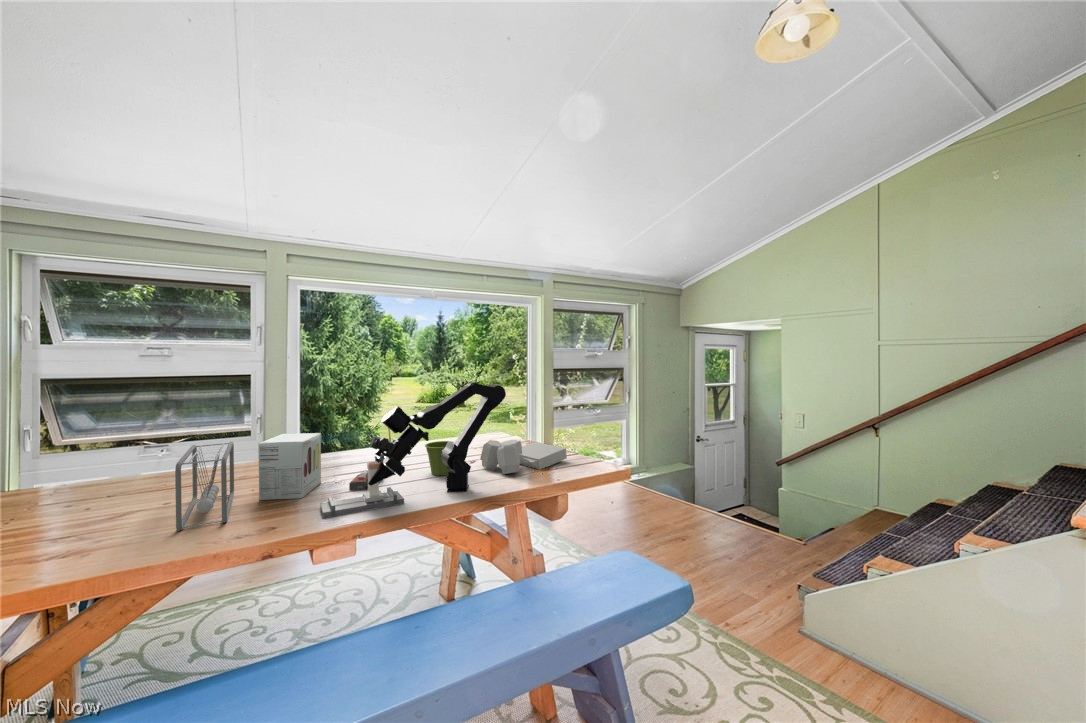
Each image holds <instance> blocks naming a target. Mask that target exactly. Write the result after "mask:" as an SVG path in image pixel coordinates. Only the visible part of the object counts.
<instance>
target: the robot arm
mask: <svg viewBox="0 0 1086 723" xmlns="http://www.w3.org/2000/svg"><path fill="white" fill-rule="evenodd" d="M474 395H478V396H480V400H479V404H478V406H477V407H476V409H475V411H474V412H473V414H472V415H471V416H470V418H469V420H468V422H467V423H466V424H465V426H464V427H463V429H462V431H461V432H460V434H459V436H458V437H457V438H456V440H453V441H452V442H453V443H452V442H450V441H451V440H450V441H449V440H447V441H448V443H447V445H446V447H445V448H444V449H443V450H442V452H443V453H442V455H441V459H442V462H443V463H444V464H445V465H446V466H447V469H449V472H448V474H447V475H446V478H445V479H446V480H445V481H446V484H445V485H446V493H449V492H450V493H455V492H456V493H458V492H459V493H463V492H464V493H465V492H468V489H469V487H470V484H469V473H470V471H471V469H472V466H471V465H470V464H469V463H468V462H466V458H467V455H468V452H469V448H470V447H469V446H470V445H471V443H472V442H473V440H474V439H475V436H476V435H477V434H478V432H479V431H480V429H481V427H482V426H483V425H484V423H485V421H486V419H487V418H488V416H490V413H491V412H492V411H493V410H494V409H496V408H497V407H498V406H499V405H500V404H501V403H502V402H503V401H504V400H505V398H506V397H507V394H506V389H505V387H504V386H502V385H498V384H491V383H490V384H487V385H485V384H481V383H478V382H473V381H469V382H467V383H466V384H465V385H464V386H463V387H461V388H460V389H458V390H456V391H455V392H454V393H452V394H451V395H449V396H448V397H447V398H445V399H443V400H442V401H440V402H439V403H437V404H433V405H431V406H429V407H426V408H424V409H421V410H419V411H418V412H417V413H415V414H411V415H408V414H407V413H406V412H405V411H404V410H403V409H402V408H401V406H398V405H396V406H395V407H394V408H392V409H391V410H390V411H389V412H387V413H386V414H384V415H383V417H382V418H381V421H380V422H381V423H382V424H383V425H384V426H385V427H387V428H388V429H389V430H390V431H391V432H392V433H394V434H398V433H399V434H400V435H399V436H398V437H397V438H392V439H391V441H390V440H389V438H386V437H384V436H383V437H379V436H376V435H373V436H372V438H371V440H370V443H369V446H370V448H371V449H374V451H373V454H374V455H375V456H374V462H376V461H377V462H378V463H379V468H378V470H377V471H376V473H375V474H374V475H373V477H372V478H371V480H370V481H369V483H368V484H369V485H370V486H372V485H374V484H376V483H378V482H380V481H381V482H382V481H384V480H386V479H388V478H391V477H392V476H396V475H397V476H398V477H402V475H404V473H405V472H406V467H405V466H404V465H403V462H402V461H403V460H404V458H406V456H407V455H408V456H410V455H411V454H412V450H413V449H414V447H416V446H417V444H418V443H419V442H420V441H421V440H425V441H427V442H429V441H430V439H429V438H430V437H429V432H428V431H424V430H422V429H421V428H423V429H425V430H429V431H430V430H432V429H435V428H436V427H437V426H438V425H439V424H440V423H441V422H442V421H443V420H444V418H445V417H446V415H448V414H449V413H450V412H452V411H453V410H454V409H456V408H458V407H459V406H460V405H462V404H463V403H465V402H466V401H468V400H469V399H471V398H472V397H473V396H474ZM411 423H412V424H414V425H415V427H414V426H413V425H412V424H411ZM366 481H367V482H368V478H367V480H366ZM381 482H380V483H381Z"/></svg>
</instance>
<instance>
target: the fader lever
mask: <svg viewBox="0 0 1086 723" xmlns="http://www.w3.org/2000/svg"><path fill="white" fill-rule="evenodd" d="M366 466H367V467H366V468H367V471H368V483H369V481H370V480H371V478H372V477H373V475H374V474H375V473H376V471H377V470H378V468H379V463H378V462H377V461H376V462H375V461H370V462H366ZM379 485H380V483H379V482H378V483H376V484H374V485H372V486H370V485H369V484H368V490H367V492H362V496H363V498H364V500H365V501H366V503H367V502H373V501H378V500H384V495H383V494H382V493H383V492H382V491H381V490H380V486H379Z"/></svg>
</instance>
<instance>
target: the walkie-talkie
mask: <svg viewBox="0 0 1086 723" xmlns="http://www.w3.org/2000/svg"><path fill="white" fill-rule="evenodd" d="M367 478H368V470H362V471H361V472H360V473H359V474H357V475H356V476H355V477H354V478H353V479H352V480H350V482H349V484H348V485H349V487H348V490H349V491H368V482H367V481H366V480H367ZM381 482H382V481H380V482H379V484H380V483H381Z"/></svg>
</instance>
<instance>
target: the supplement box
mask: <svg viewBox="0 0 1086 723" xmlns="http://www.w3.org/2000/svg"><path fill="white" fill-rule="evenodd" d="M321 437H322V433H321V432H314V433H313V432H310V433H309V432H307V433H306V432H303V433H301V432H299V433H281V434H278V435H276V436H273V437H271V438H269V439H266V440H263V441H261V442H259V443H258V500H259V501H268V500H292V499H303V498H304V497H305V496H306V495H307V494H309V493H310V492H311V491H312V490H314V489H316V488H317V487H318V486H319V485H320V484H322V442H321V441H322V438H321Z"/></svg>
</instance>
